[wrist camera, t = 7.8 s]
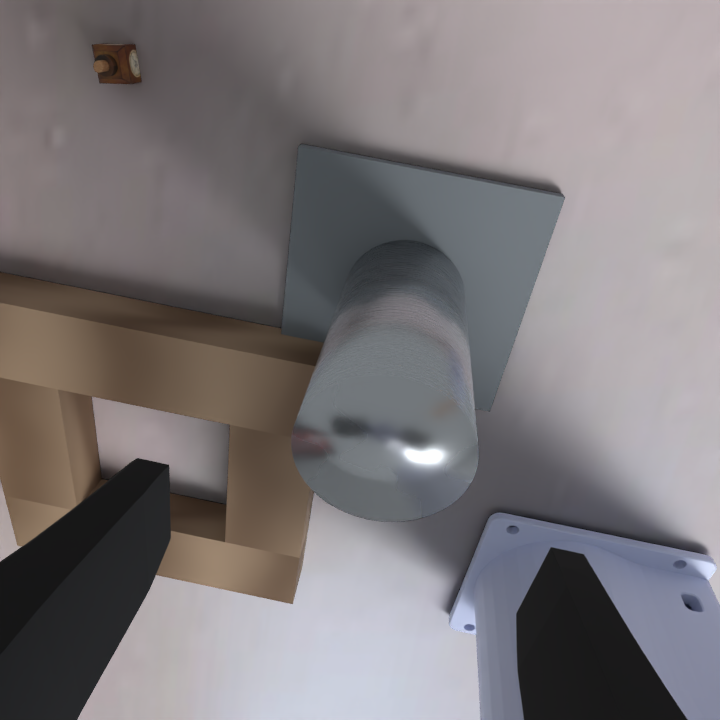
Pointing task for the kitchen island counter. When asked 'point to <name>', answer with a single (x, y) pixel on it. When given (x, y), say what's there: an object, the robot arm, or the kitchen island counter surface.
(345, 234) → the grey square plate
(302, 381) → the pocket block
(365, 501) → the peg
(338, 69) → the kitchen island counter surface
